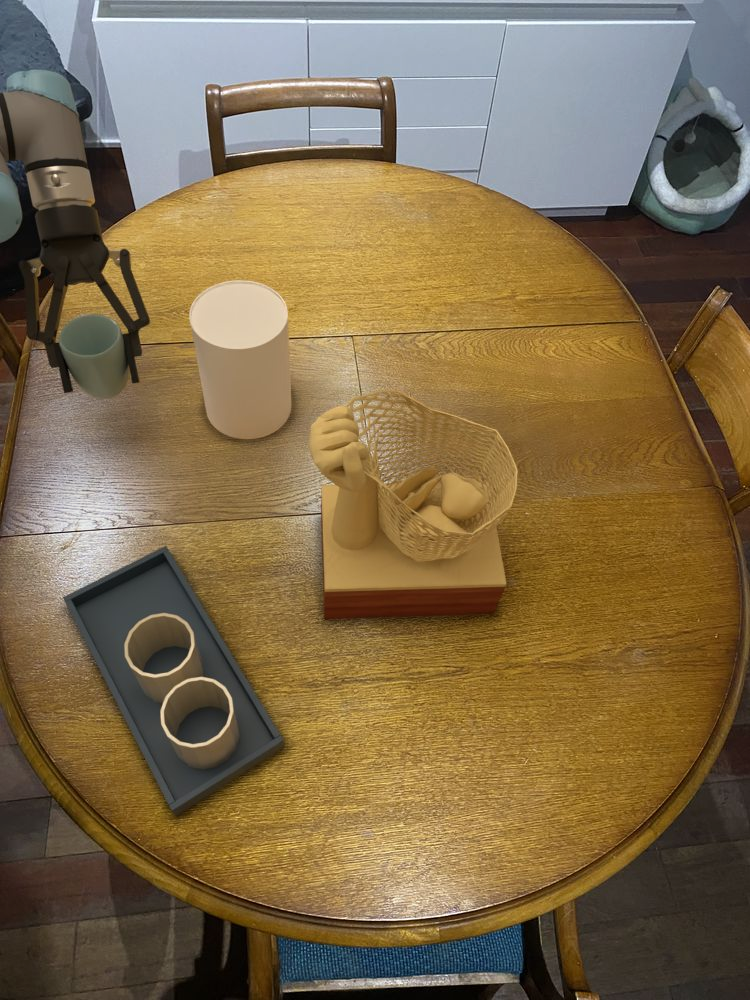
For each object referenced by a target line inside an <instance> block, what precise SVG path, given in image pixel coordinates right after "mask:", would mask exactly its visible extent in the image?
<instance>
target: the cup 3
mask: <svg viewBox="0 0 750 1000" xmlns="http://www.w3.org/2000/svg"><path fill="white" fill-rule="evenodd" d="M208 706H211V707H216V708H221V709H222V710H224V711H225V712H227V713H228V714H229V717H228V720H227V724H226V725H225V726H224V728H223V729H222V730H221V732H220V733H219V734H218V735H217V736H215V737H214V738H212V739H210V740H209V741H207V742H203V743H197V744H190V743H185V742H180V741H179V740H178V739H176V734H177V731H178V728H179V725H180V723H181V722H182V721H183V720H184V718H185V717H186V716H187V715H188V714H189V713H191V712H193V711H194V710H196V709H198V708H202V707H208ZM160 714H161V725H162V727H163V729H164V731H165V733H166V735H167V737H168V739H169V740H170V742H171V744H172V746H173V748H174V750H175V752H176V754H177V755H178V757H179V759H180V760H181V761H182V762H184V763H185V764H186V765H188V766H189V767H192V768H196V769H201V770H205V769H210V768H215V767H218V766H219V765H221V764H222V763H224V762H226V761H227V760H228V759H229V758H230V757H231V756H232V754H233V753H234V752H235V750H236V749H237V746H238V742H239V739H240V729H239V722H238V719H237V715H236V711H235V707H234V704H233V700H232V697H231V695H230V694H229V692H228V690H227V689H226V687H225V686H223V685H222V684H221V683H219V682H218V681H216V680H215V679H210V678H206V677H196V678H190V679H186V680H185V681H183V682H181V683H179V684H178V685H176V686H174V687H173V689H172V690H171V691H170V692H169V693H168V695H167V696H166V697H165V699H164V702H163V705H162V708H161V710H160Z"/></svg>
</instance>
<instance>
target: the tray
mask: <svg viewBox="0 0 750 1000" xmlns="http://www.w3.org/2000/svg"><path fill="white" fill-rule="evenodd" d="M62 599H63V601H64V603H65V605H66V607H67V609H68V611H69V613H70V615H71V618H73V619H72V620H74V622H75V624H76V626H77V628H78V631H79V633H80V634H81V636H82V638H83V640H84V642H85V644H86V646H87V648H88V650H89V652H90V654H91V657H92V658H93V660H94V662H95V664H96V666H97V668H98V669H99V671H100V673H101V675H102V677H103V680H104V682H105V684H106V685H107V687H108V689H109V690H110V693H111V695H112V696H113V699H114V701H115V703H116V705H117V707H118V709H119V710H120V713H121V715H122V716H123V718H124V720H125V723H126V725H127V726H128V728H129V730H130V732H131V734H132V736H133V738H134V741H135V742H136V744H137V746H138V748H139V750H140V752H141V754H142V756H143V758H144V760H145V762H146V763H147V766H148V768H149V769H150V771H151V773H152V775H153V777H154V779H155V781H156V784H157V785H158V787H159V789H160V791H161V793H162V795H163V797H164V799H165V801H166V803H167V805H168V806H169V809H170V810H171V812H172V814H173V815H174V816H175V817H177V816H179V815H181V814H183V813H184V812H185V811H187V810H189V809H191V808H193V807H194V806H195V805H197V804H198V803H200V802H202V801H203V800H205V799H206V798H208V797H209V796H211V795H213V794H214V793H215V792H217V791H220V789H222V788H224V787H225V786H227V785H229V784H230V783H231V782H233V781H235V780H236V779H238V778H239V777H241V776H242V775H244V774H246V773H247V772H249V771H251V770H252V769H253V768H255V767H257V766H258V765H260V764H261V763H263V762H264V761H266V760H267V759H269V758H271V757H272V756H274V755H276V754H277V753H279V752H280V751H282V750H283V749H285V739H284V738H283V736H282V735H281V733H280V731H279V729H278V728H277V726H276V725H275V723H274V721H273V720H272V718H271V717H270V715H269V713H268V711H267V710H266V708H265V707H264V705H263V703H262V702H261V700H260V699H259V697H258V695H257V693H256V691H255V690H254V688H253V686H252V685H251V684H250V682H249V680H248V679H247V677H246V675H245V674H244V672H243V670H242V668H241V666H239V664H238V662H237V660H236V659H235V657H234V655H233V654H232V652H231V650H230V649H229V647H228V645H227V643H226V642H225V640H224V639H223V637H222V635H221V634H220V632H219V631H218V629H217V627H216V626H215V624H214V623H213V621H212V619H211V617H210V615H209V614H208V612H207V610H206V608H204V606H203V604H202V603H201V601H200V599H199V597H198V596H197V594H196V592H195V591H194V589H193V588H192V586H191V584H190V583H189V581H188V579H187V578H186V576H185V574H184V572H183V571H182V570H181V568H180V566H179V564H178V563H177V561H176V560H175V558H174V556H173V554H172V553H171V552H170V550H169V548H168V547H167V545H164V546H163V547H161V548H158V549H157V550H154V551H152V552H151V553H148V554H147V555H144V556H142V557H140V558H139V559H137V560H134V561H133V562H130V563H129V564H126V565H125V566H123V567H121V568H118V569H117V570H114V571H113V572H111V573H109V574H106V575H105V576H102V577H101V578H99V579H97V580H94V581H91V582H90V583H89V584H87V585H85V586H84V585H83V586H82V587H80V588H78V589H77V590H74V591H71V592H70V593H69V594H66V595H65V596H63V597H62ZM161 613H167V614H172V615H177V616H179V617H180V618H182V619H183V620H185V621H186V622H187V623H188V624H189V626H190V628H191V629H192V631H193V633H194V636H195V639H196V642H197V645H198V648H199V651H200V654H201V658H202V661H203V668H204V675H203V677H206V678H210V679H215V680H216V681H218V682H219V683H221V684H222V685H223V686H225V687H226V689H227V690H228V692H229V694H230V695H231V697H232V700H233V704H234V707H235V711H236V715H237V719H238V722H239V729H240V739H239V742H238V746H237V749H236V750H235V752H234V753H233V754H232V756H231V757H230V758H229V759H228V760H227V761H226V762H224V763H222V764H221V765H219V766H218V767H215V768H210V769H205V770H201V769H196V768H192V767H189V766H188V765H186V764H185V763H184V762H182V761H181V760H180V759H179V757H178V755H177V754H176V752H175V750H174V748H173V746H172V744H171V742H170V740H169V739H168V737H167V735H166V733H165V731H164V729H163V727H162V725H161V714H160V710H161V708H162V705H163V703H158V702H154V701H153V700H152V699H150V698H149V697H148V696H146V695H145V693H144V692H143V690H142V688H141V686H140V684H139V682H138V680H137V678H136V677H135V675H134V673H133V671H132V669H131V667H130V665H129V663H128V662H127V660H126V658H125V645H124V644H125V641H126V639H127V636H128V634H129V632H130V630H131V629H132V628H133V627H134V626H135V625H136V624H137V623H138V622H139V621H141V620H143V619H144V618H146V617H148V616H150V615H154V614H161ZM188 653H189V650H188V649H187V648H183V647H178V646H172V647H166V648H163V649H161V650H159V651H158V652H156V653H154V654H153V655H152V656H151V657H150V659H149V660H148V661H147V662H146V664H145V667H144V670H143V672H145V673H150V674H161V673H167V672H169V671H171V670H173V669H175V668H177V667H178V666H180V664H181V663H182V662H183V661H184V660H185V659H186V657H187V656H188ZM228 717H229V714H228V713H227V712H225V711H224V710H222V709H221V708H216V707H211V706H208V707H202V708H198V709H196V710H194V711H193V712H191V713H189V714H188V715H187V716H186V717H185V718H184V720H183V721H182V722H181V723H180V725H179V728H178V731H177V734H176V739H178V740H179V741H180V742H185V743H190V744H197V743H203V742H207V741H209V740H210V739H212V738H214V737H215V736H217V735H218V734H219V733H220V732H221V730H222V729H223V728H224V726H225V725H226V724H227V720H228Z"/></svg>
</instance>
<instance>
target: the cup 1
mask: <svg viewBox="0 0 750 1000" xmlns="http://www.w3.org/2000/svg"><path fill="white" fill-rule="evenodd" d="M123 334H124V333H123V331H122V328H121V327H120V324H118V322H117V321H116V320H114V319H113V318H110V317H108V316H106V315H103V314H98V313H87V314H81V315H78V316H76V317H74V318H72V319H71V320H70V321H68V322H67V323H65V325H64V326H63V327H62V328H61V330H60V332H59V335H58V342H59V346H60V349H61V352H62V354H63V357H64V359H65V362H66V365H67V367H68V370H69V374H70V377H71V378H72V379H73V381H74V383H75V384H76V386H77V387H78V388H79V389H80V391H82V393H83V394H85V395H87V396H89V397H91V398H93V399H96V400H110V399H114V398H116V397H118V396H119V395H120V394H122V393H123V392H124V391H125V390H126V388H127V387H128V385H129V382H130V380H131V374H130V369H129V364H128V359H127V354H126V349H125V344H124V339H123Z"/></svg>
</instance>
